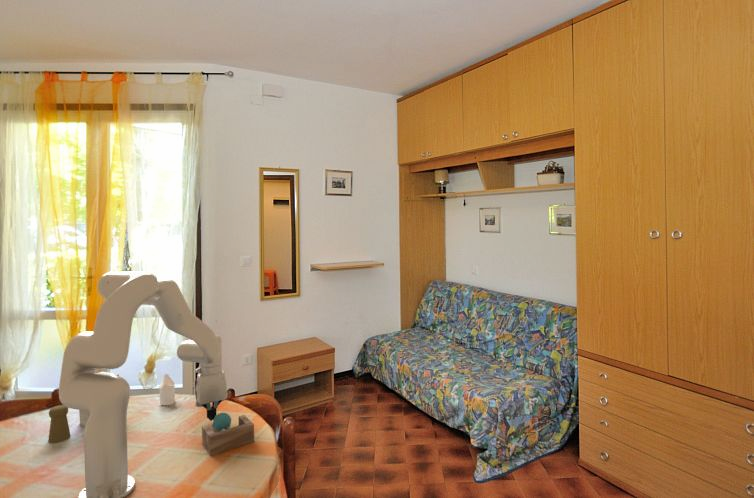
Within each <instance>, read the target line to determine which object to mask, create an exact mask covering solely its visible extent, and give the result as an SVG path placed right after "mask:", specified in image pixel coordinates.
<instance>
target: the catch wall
mask: <svg viewBox="0 0 754 498" xmlns="http://www.w3.org/2000/svg"><path fill="white" fill-rule="evenodd" d="M201 440H202V441H201V443H202V446H203V448H204V450H206V452H207V453H208V456H210V457H211V456H215V455H218V454H222V453H225V452H227V450H228V451H230V449H231V450H234V449H236V447H237V448H239V446H240V447H243V446H246V445H248V444H247V443H250V444H252V443H251V442H253V443H254V442H255V424H254V423H253V422H252V421H251V420H250V419H249V418H248V417H247V416H246V414H242V415H239V416H238V425H236V426H233V427H229V428H228V429H226V430H222V431H216V432H215V431H214V429H212V428H211V426H210V425H209V424H206V425H202V426H201ZM245 444H246V445H245ZM242 445H243V446H242ZM233 448H234V449H233Z"/></svg>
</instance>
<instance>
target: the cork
mask: <svg viewBox="0 0 754 498" xmlns="http://www.w3.org/2000/svg"><path fill="white" fill-rule="evenodd" d="M68 413H69V408H68V407H66V406H64V405H63V404H60V405H55V406H53V407H51V408H50V409H49V411H48V417H50V425H49V426H50V427H49V433H48V440H47V441H48V443H50V444H58V443H61V442H64V441H66V440H68V439H70V438H71V432H70V427H69V422H68V421H69V420H68V416H67V415H68Z"/></svg>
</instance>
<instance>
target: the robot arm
mask: <svg viewBox="0 0 754 498" xmlns="http://www.w3.org/2000/svg"><path fill="white" fill-rule="evenodd" d="M96 287H97V291H98V294H99V295H100V296H101V297H102V298H103V299H105V300H104V301H103V302H102V304H101V305H100V307H99V308H98V311H97V313H96V318H95V323H94V327H93V328H94V329H93V331H91V330H90V331H82V332H80V333H77V334H75V335H74V336H73V337H72V338H71V339H70V340H68V341H69V342H68V343H67V345H66V347H65V349H64V352H63V355H62V356H63V357H62V363H61V370H60V377H59V384H58V385H59V386H58V398H59V401H60V403H61V405H64V406H66V407H68V409H73V410H78V411H79V410H84V411H88V412H90V417H89V419H88V421H87V423H86V425H85V426H84V429H83V450H84V452H83V453H84V456H83V457H84V488H83V489H82V490H81V491H80V492H79V494H78V496H77V498H123V497H124V498H126V497H127V496H128V495H129V494H131V493H132V491H133V490H135V486H136V480H135V479H134V477H132V476H131V475H129V470H128V469H129V467H128V466H129V465H128V464H129V463H128V462H129V460H128V429H127V428H128V426H127V425H128V424H127V422H128V421H127V420H128V419H127V417H128V408H129V407H128V406H129V400H130V396H131V386H130V383H129V382H128V381H127V380H126V379H125V378H123V377H121V376H120V375H119V376H116V375H110V374H102V373H99V372H97V369H98V370H114V369H115V370H116V369H119V368H121V367H122V366H123V365H124V364H125V363H126V362H127V359H128V356H129V349H130V342H131V333H132V326H133V325H132V324H133V319H134V317H135V314H136V313H137V311H138V310H139V309H140V307H141V306H143V305H144V306H154V308H155V309H156V311H157V313H158V314H159V316H160V319H161V320H162V322H163V323H164V326H165V327H166V328H167V329H168V330H169V331H172V332H174V333H175V334H178V335H180V336H182V337H185V338H187V340H186V339H185V340H184V341H182V342H181V343H180V344H179V345H178V346H177V349H176V355H177V357H178V359H180V360H181V361H183V362H186V363H199V364H198V365H199V366H198V367H197V368H195V369H194V370H195V371H194V372H195V374H196V373H197V378H196V384H195V400H196V401H195V407H196V408H197V407H198V408H201V407H202V408H204V409H206V418H207V419H208V420H209V421H210V422H212V421H213V420H214V418H215V417H216V415H217V409H218V407H219V405H220V404H221V403H223V402H225V401H226V400H227V397H228V387H227V378H226V374H225V371H224V370H223V365H222V364H223V363H222V362H223V360H222V358H223V357H222V354H223V353H222V352H223V351H222V350H223V349H222V336H220V334H215V332H214V331H213V329H212V328H211V327H210V326H209V325H208V324H206V323H205V322H204V321H202V320H201V319H200V318H199V317H198V316H196V315H194V313H193V312H192V311H191V309H190V307H189V305H188V303H187V301H186V299H185V297H184V295H183V292H182V291H181V289H180V286H179V285H178V284H177V282H176V281H174V280H172V279H169V278H158V277H156V276H155V275H154V274H153V273H149V272H146V271H123V270H121V271H118V270H117V271H108V272H106V273H104V274H103V275H101V277H100V278H99V279H98V281H97V286H96Z"/></svg>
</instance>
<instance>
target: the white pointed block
mask: <svg viewBox="0 0 754 498" xmlns="http://www.w3.org/2000/svg"><path fill="white" fill-rule="evenodd" d="M175 387H176V386H175V382H174V380H173V379H172V378H171V377H170V375H169V374H168V373H165V374H164V375H163V377H162V380H161V382H160V384H159V387H158V389H159V391H158V393H159V405H160V404H161V405H160V406H162V405H164V406H163V407H165V405H167V406H170V405H171V406H172V405H173V404H175V402H176V396H175V395H176V393H175V392H176V389H175Z"/></svg>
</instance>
